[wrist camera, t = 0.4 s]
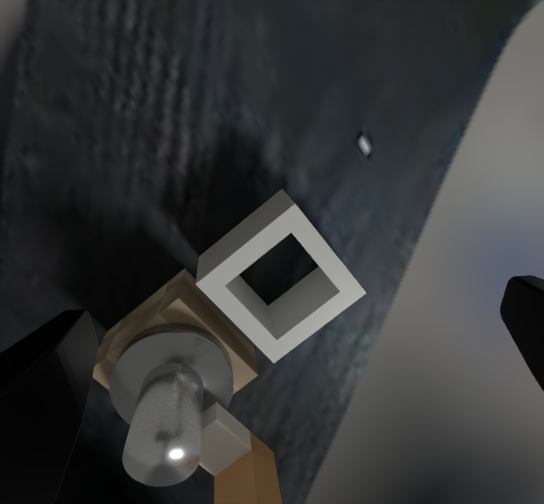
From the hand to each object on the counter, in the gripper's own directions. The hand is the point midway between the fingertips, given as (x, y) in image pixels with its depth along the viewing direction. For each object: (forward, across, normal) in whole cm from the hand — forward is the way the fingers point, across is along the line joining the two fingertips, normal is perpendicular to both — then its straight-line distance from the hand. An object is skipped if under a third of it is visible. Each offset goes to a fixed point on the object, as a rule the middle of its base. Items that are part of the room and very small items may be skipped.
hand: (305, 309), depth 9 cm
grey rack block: (+14, 0, +7) cm, 15 cm away
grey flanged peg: (+13, +6, +11) cm, 18 cm away
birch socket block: (+13, +6, +11) cm, 18 cm away
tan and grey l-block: (+7, +3, +13) cm, 15 cm away
